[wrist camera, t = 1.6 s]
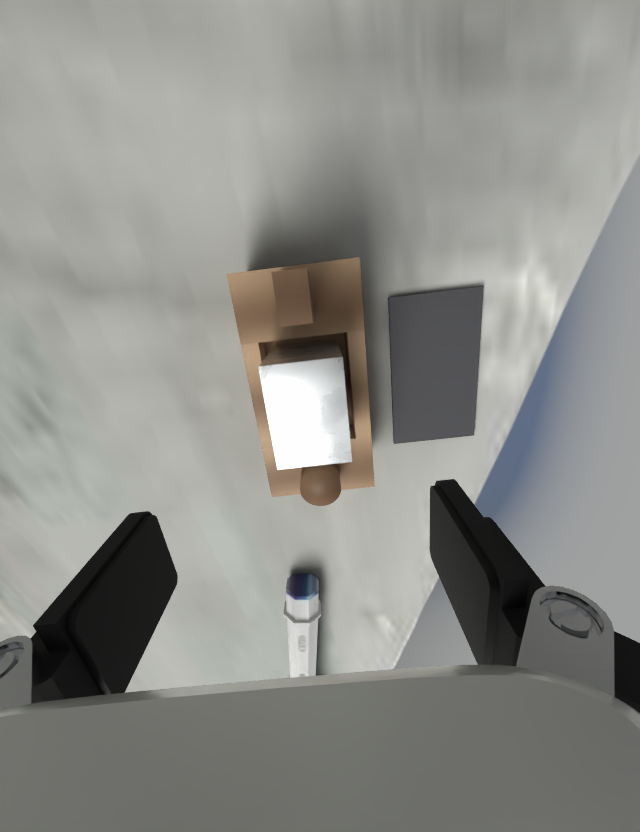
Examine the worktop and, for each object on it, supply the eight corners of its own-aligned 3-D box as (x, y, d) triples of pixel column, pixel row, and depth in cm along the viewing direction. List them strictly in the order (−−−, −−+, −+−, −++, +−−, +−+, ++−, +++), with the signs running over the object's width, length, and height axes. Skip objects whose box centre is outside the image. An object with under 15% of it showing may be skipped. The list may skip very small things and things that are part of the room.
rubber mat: (388, 297, 28) (389, 297, 27) (481, 286, 28) (483, 286, 27) (393, 442, 33) (394, 443, 33) (472, 433, 33) (474, 435, 32)
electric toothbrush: (325, 598, 36) (323, 763, 42) (324, 558, 42) (322, 705, 48) (277, 598, 36) (282, 763, 41) (284, 558, 42) (287, 705, 48)
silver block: (275, 345, 26) (258, 366, 19) (335, 338, 26) (342, 356, 19) (287, 423, 29) (277, 469, 21) (343, 417, 29) (352, 461, 21)
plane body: (245, 277, 27) (207, 270, 18) (351, 264, 27) (368, 249, 18) (279, 462, 34) (265, 528, 24) (364, 453, 33) (383, 516, 24)
